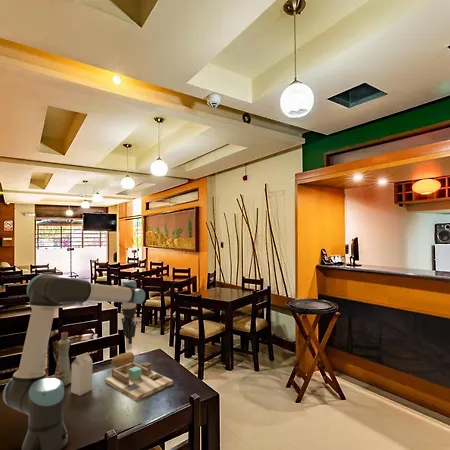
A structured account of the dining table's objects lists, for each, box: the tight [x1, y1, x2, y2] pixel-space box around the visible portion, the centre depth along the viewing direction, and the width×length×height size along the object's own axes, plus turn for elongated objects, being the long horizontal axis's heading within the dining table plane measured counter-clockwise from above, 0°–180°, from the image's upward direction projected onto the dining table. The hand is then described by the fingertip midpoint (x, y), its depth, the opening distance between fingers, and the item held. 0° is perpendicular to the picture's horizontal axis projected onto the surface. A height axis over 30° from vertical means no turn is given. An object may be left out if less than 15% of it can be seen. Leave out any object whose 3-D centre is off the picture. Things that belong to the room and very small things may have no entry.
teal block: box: [128, 366, 142, 381], centre depth 168 cm, size 5×5×5 cm
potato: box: [110, 351, 135, 369], centre depth 187 cm, size 10×14×8 cm
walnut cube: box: [140, 362, 152, 371], centre depth 178 cm, size 4×4×4 cm
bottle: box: [53, 331, 72, 387], centre depth 166 cm, size 9×9×28 cm
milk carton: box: [70, 352, 93, 396], centre depth 158 cm, size 7×7×19 cm
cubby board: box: [104, 361, 174, 402], centre depth 167 cm, size 23×30×6 cm
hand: (128, 348), depth 173 cm, fingers closed
